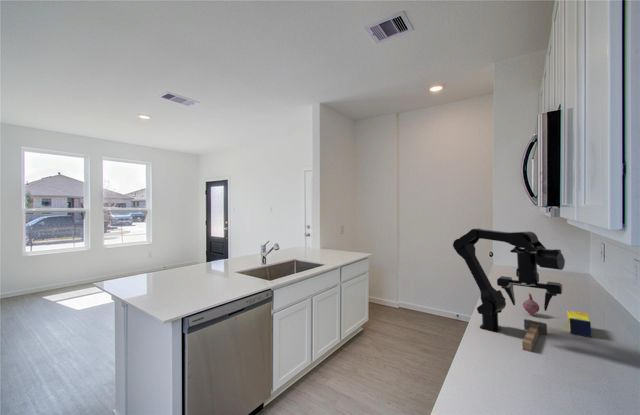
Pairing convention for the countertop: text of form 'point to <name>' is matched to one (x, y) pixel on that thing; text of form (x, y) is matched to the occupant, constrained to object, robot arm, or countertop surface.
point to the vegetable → (531, 305)
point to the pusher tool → (532, 333)
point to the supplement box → (579, 323)
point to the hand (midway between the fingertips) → (529, 307)
